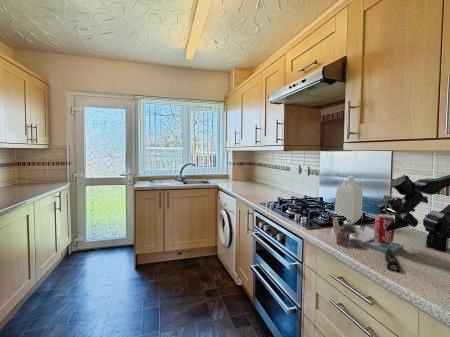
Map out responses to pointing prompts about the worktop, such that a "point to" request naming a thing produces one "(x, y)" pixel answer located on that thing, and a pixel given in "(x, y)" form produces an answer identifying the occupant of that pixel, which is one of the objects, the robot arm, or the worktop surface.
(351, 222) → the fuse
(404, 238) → the worktop surface
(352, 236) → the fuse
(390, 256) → the electric trimmer
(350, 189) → the milk
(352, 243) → the clip rack
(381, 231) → the soda can
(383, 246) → the tray
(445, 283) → the worktop surface
